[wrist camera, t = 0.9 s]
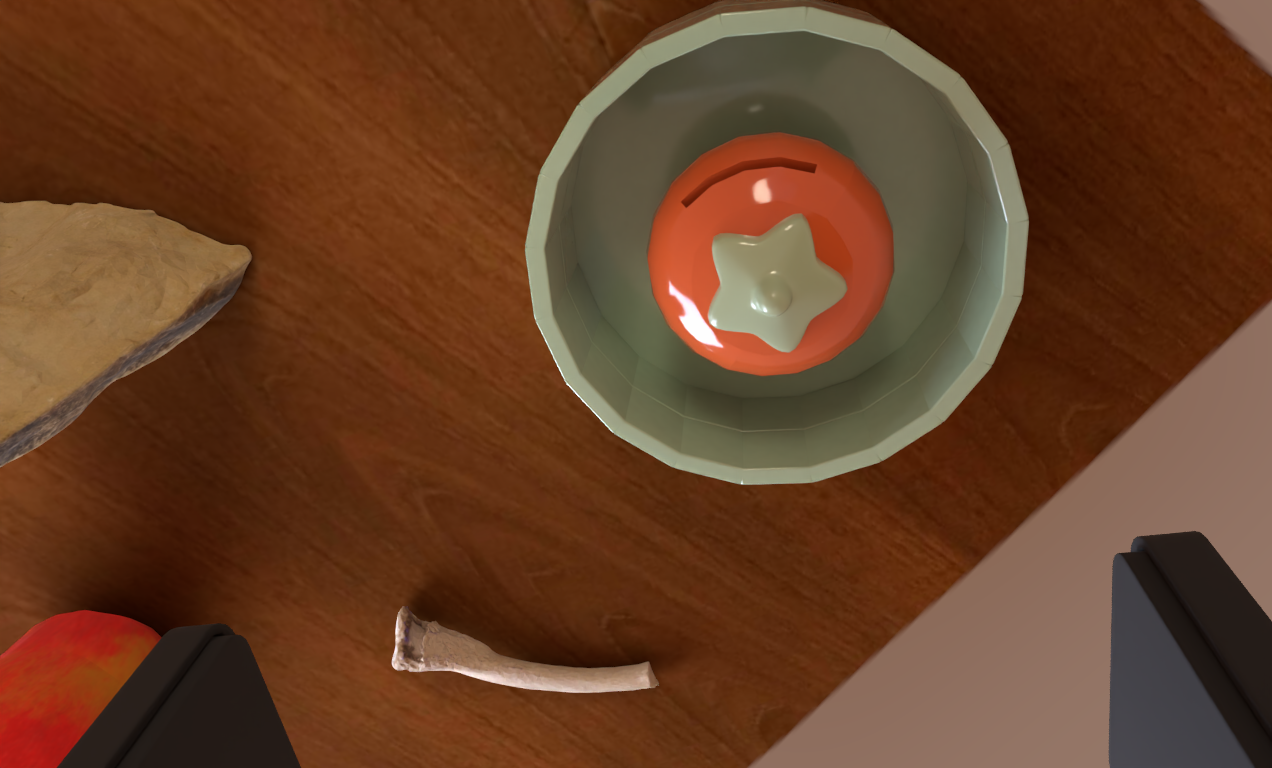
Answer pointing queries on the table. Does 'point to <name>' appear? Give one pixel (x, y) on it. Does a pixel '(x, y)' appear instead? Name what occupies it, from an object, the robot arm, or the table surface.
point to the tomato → (771, 254)
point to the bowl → (807, 106)
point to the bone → (502, 662)
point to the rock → (94, 305)
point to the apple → (64, 682)
